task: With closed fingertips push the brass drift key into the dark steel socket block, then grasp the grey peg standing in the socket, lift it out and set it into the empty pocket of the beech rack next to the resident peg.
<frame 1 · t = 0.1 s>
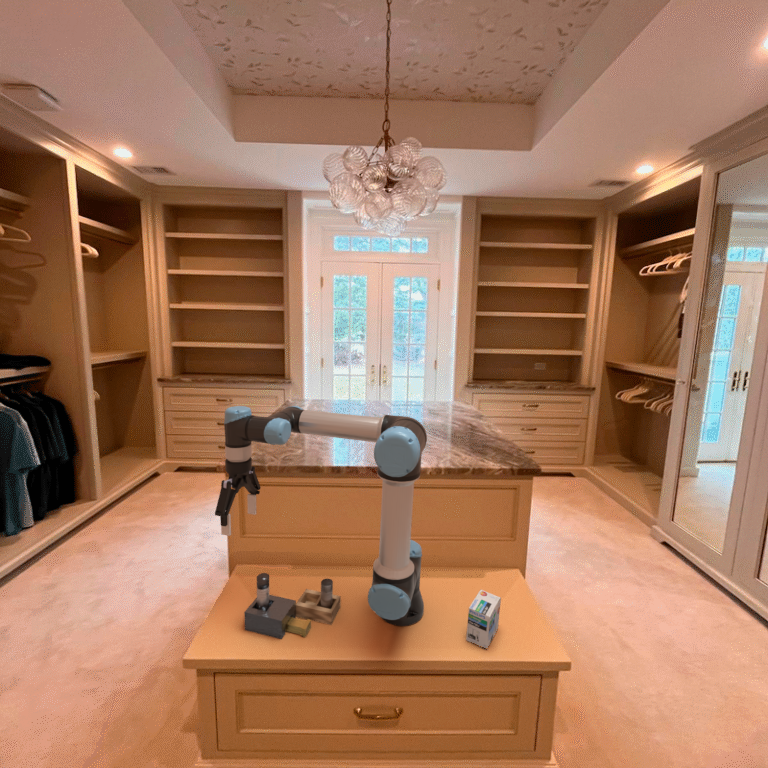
hand: (239, 523, 130), 28 cm above the table, fingers open, 13 cm apart
rack: (318, 611, 133), on the table
grey peg: (263, 612, 127), point 3 cm above the table, touching socket block
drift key: (290, 624, 125), point 2 cm above the table, slide at 5.0 cm
light bulb box: (482, 635, 127), on the table
socket block: (270, 623, 127), on the table
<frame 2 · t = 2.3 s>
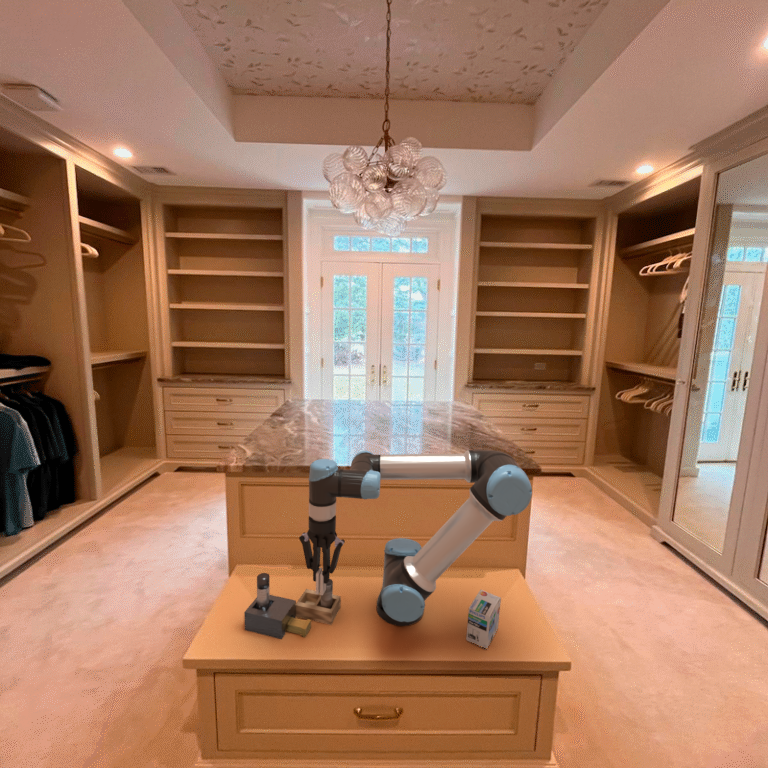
hand: (320, 591, 121), 14 cm above the table, fingers closed
nothing on the table moved.
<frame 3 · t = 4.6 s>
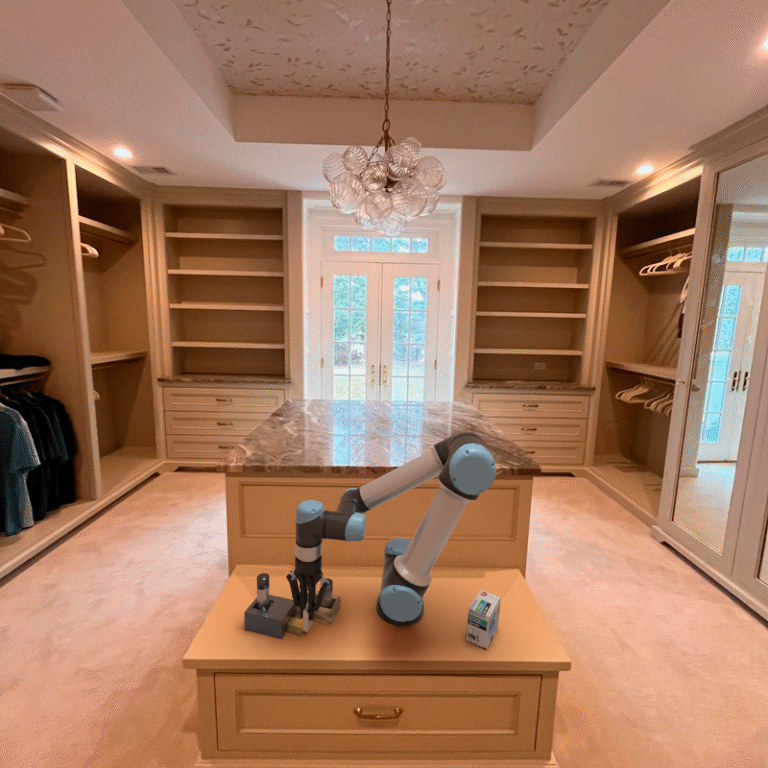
hand: (307, 628, 124), 2 cm above the table, fingers closed
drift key: (287, 623, 125), point 1 cm above the table, slide at 3.9 cm, touching gripper
everything else where it was.
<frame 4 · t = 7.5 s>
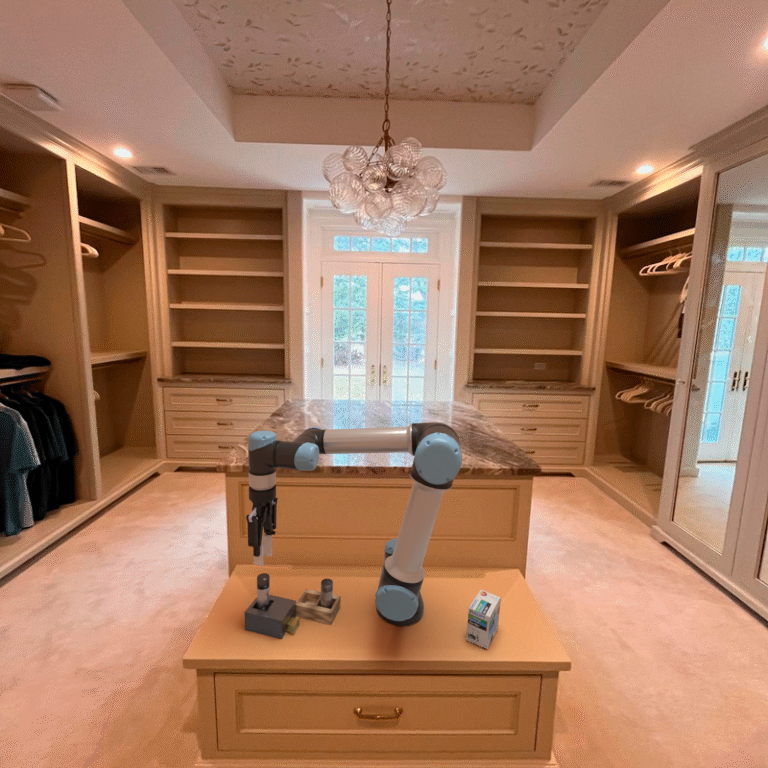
hand: (262, 559, 124), 21 cm above the table, fingers open, 4 cm apart
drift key: (279, 621, 126), point 1 cm above the table, slide at 1.3 cm
everything else where it was.
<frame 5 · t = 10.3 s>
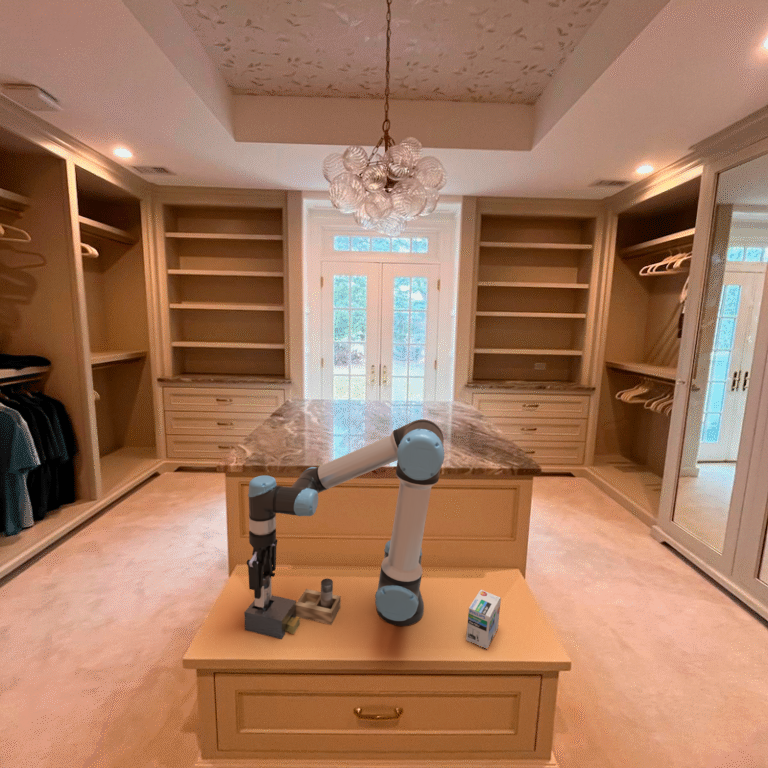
hand: (263, 601, 126), 7 cm above the table, fingers closed on grey peg, 4 cm apart
grey peg: (263, 612, 127), point 3 cm above the table, touching gripper, socket block
everything else where it was.
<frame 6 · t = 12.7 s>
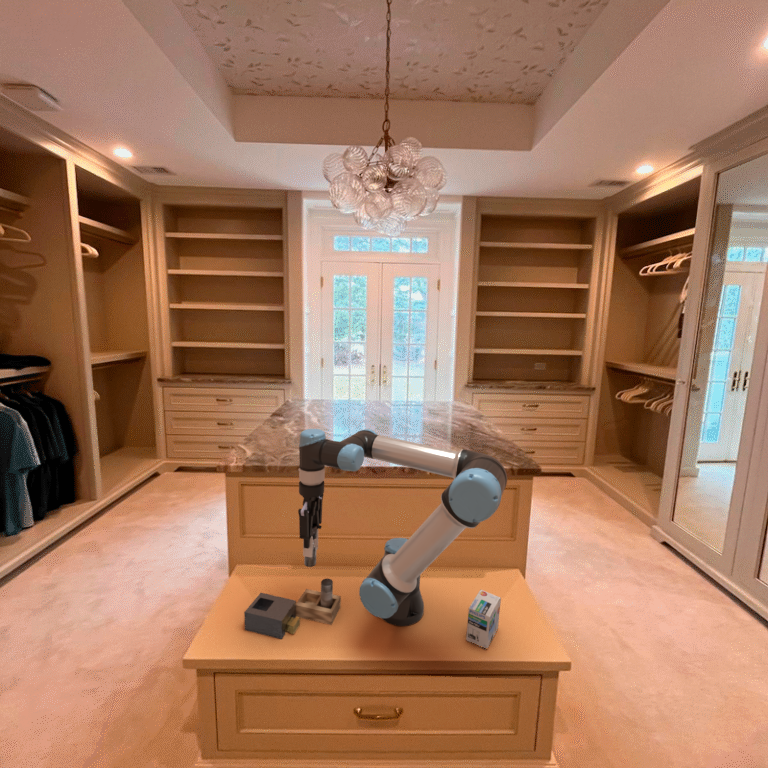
hand: (310, 552, 130), 20 cm above the table, fingers closed on grey peg, 4 cm apart
grey peg: (310, 563, 131), point 16 cm above the table, touching gripper
everything else where it was.
when the fingers open (6 cm above the table, at t = 15.3 s): grey peg drops 1 cm, resting on rack.
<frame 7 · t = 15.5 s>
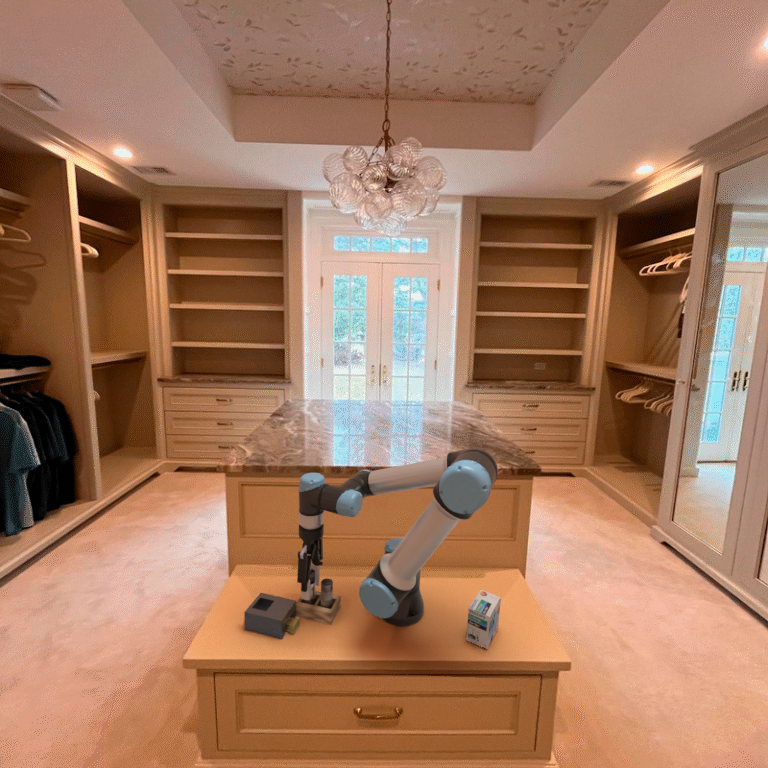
hand: (310, 591, 132), 7 cm above the table, fingers open, 7 cm apart
grey peg: (309, 607, 133), point 1 cm above the table, touching rack
everything else where it was.
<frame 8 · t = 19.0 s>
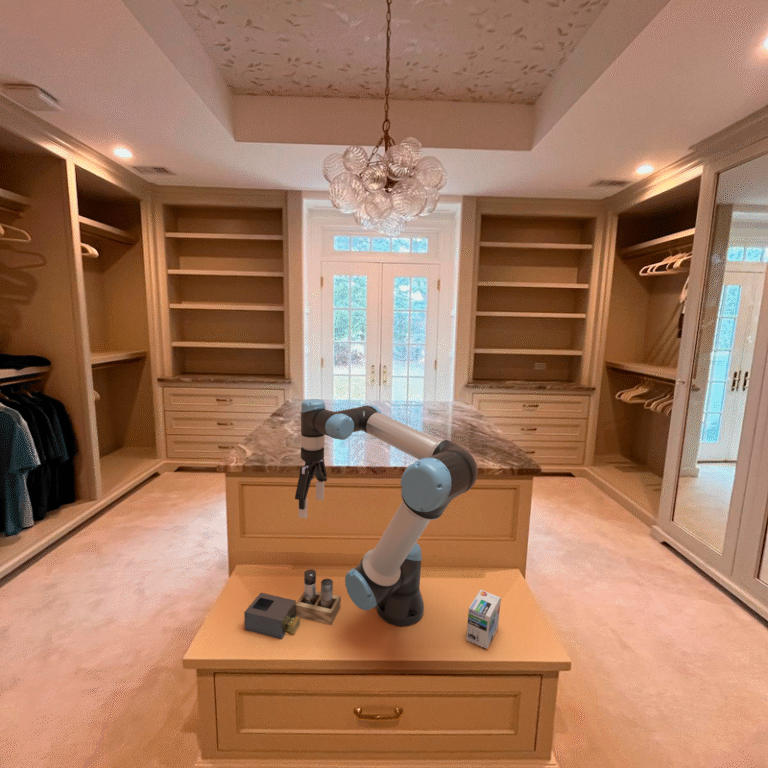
hand: (311, 508, 140), 29 cm above the table, fingers open, 13 cm apart
nothing on the table moved.
at the end: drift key slide at 1.3 cm; grey peg 0.0 cm from the target spot on the rack, point 1.0 cm above the rack's base; grey peg tilted 1° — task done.
